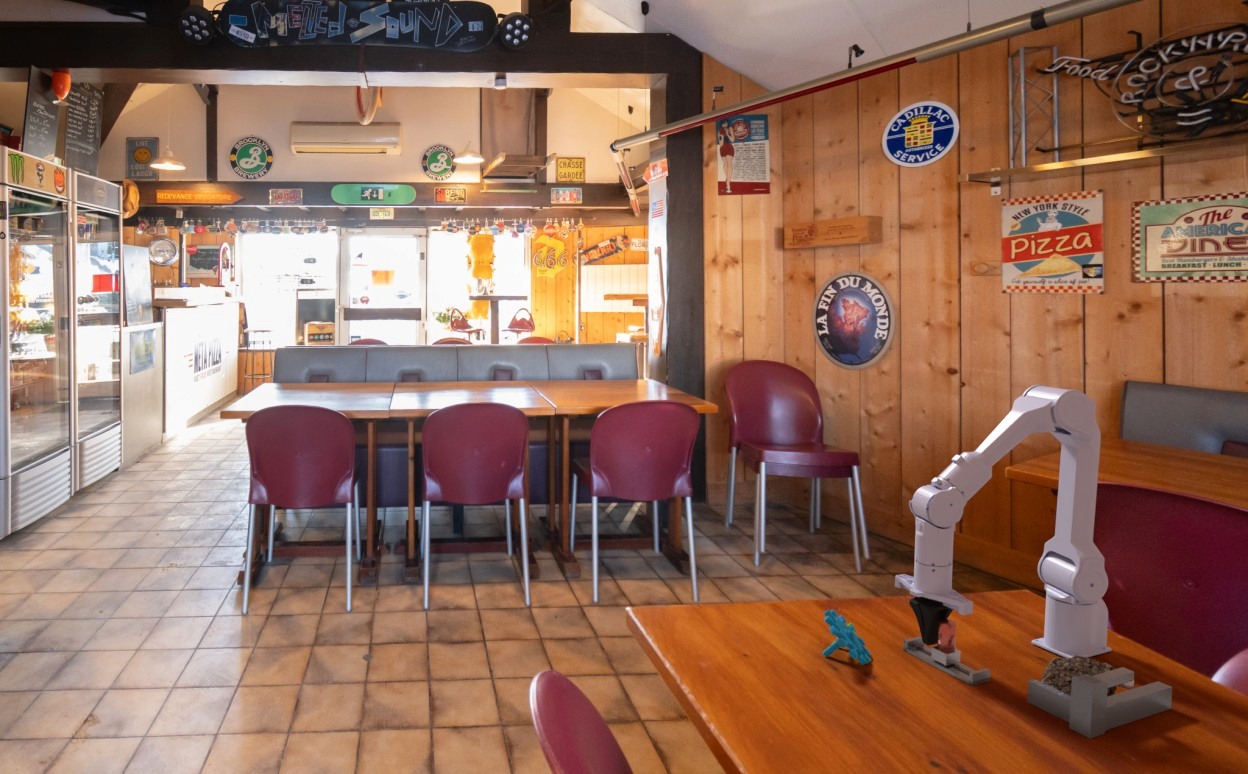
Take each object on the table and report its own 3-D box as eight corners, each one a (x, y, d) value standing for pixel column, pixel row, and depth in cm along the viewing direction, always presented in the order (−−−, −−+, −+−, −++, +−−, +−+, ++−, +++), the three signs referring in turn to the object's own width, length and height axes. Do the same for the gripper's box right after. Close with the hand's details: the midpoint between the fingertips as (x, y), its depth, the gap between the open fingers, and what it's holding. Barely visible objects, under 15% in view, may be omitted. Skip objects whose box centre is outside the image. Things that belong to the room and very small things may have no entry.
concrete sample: (1063, 676, 126) (1065, 645, 125) (1133, 703, 118) (1135, 669, 117) (1020, 695, 120) (1021, 662, 119) (1090, 725, 111) (1092, 689, 111)
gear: (869, 667, 125) (825, 613, 128) (840, 689, 127) (797, 635, 130) (879, 649, 135) (837, 600, 138) (851, 670, 137) (811, 621, 140)
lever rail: (920, 646, 137) (920, 636, 136) (989, 681, 124) (990, 669, 124) (903, 650, 135) (904, 639, 135) (972, 685, 123) (972, 674, 122)
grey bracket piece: (1103, 679, 125) (1106, 635, 124) (1174, 710, 115) (1177, 662, 114) (1021, 703, 117) (1023, 656, 116) (1089, 738, 108) (1093, 687, 107)
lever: (945, 654, 131) (946, 617, 131) (960, 662, 129) (961, 623, 128) (931, 658, 130) (932, 620, 130) (946, 665, 127) (947, 627, 127)
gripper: (882, 552, 136) (879, 631, 137) (950, 578, 123) (946, 665, 124) (914, 546, 139) (911, 624, 140) (984, 571, 126) (980, 657, 127)
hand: (930, 643), depth 132 cm, fingers closed
